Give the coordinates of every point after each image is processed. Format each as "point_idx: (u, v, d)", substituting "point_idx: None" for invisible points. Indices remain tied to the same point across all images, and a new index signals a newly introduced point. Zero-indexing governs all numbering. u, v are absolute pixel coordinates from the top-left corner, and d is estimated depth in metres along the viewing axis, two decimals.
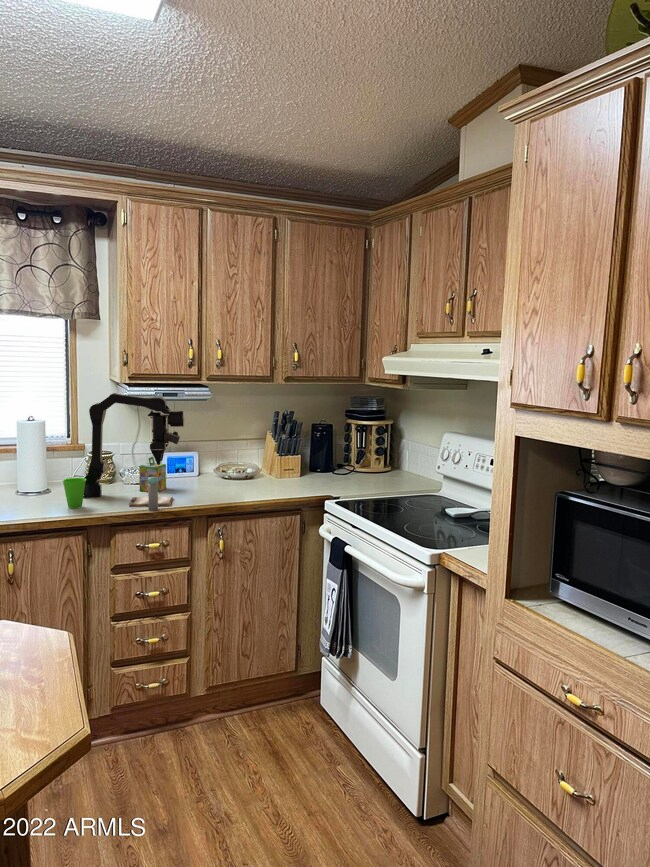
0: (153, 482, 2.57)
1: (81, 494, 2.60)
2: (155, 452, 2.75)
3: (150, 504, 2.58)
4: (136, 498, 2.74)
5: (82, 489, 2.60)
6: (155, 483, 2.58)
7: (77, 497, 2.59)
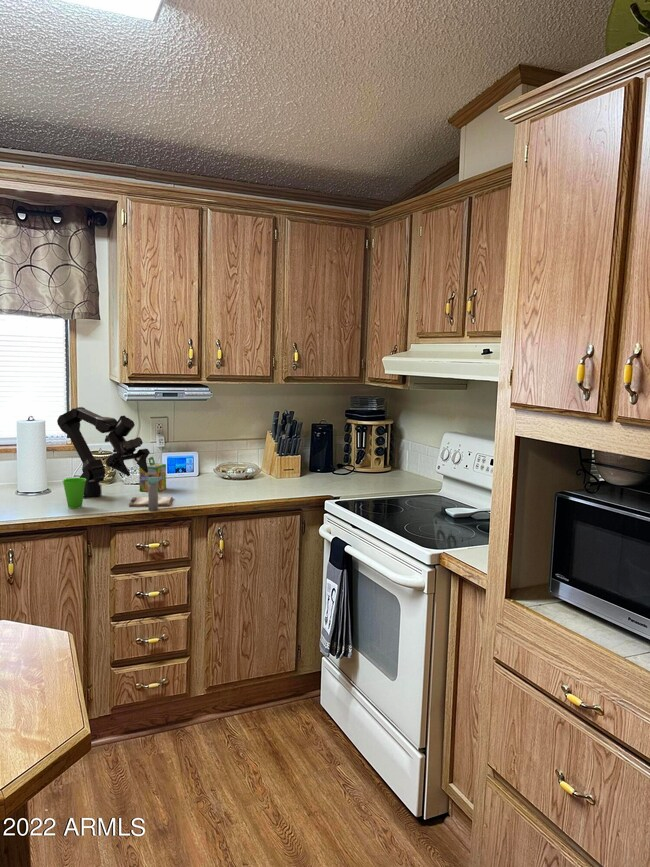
0: (153, 482, 2.57)
1: (81, 494, 2.60)
2: (118, 466, 2.60)
3: (150, 504, 2.58)
4: (136, 498, 2.74)
5: (82, 489, 2.60)
6: (155, 483, 2.58)
7: (77, 497, 2.59)
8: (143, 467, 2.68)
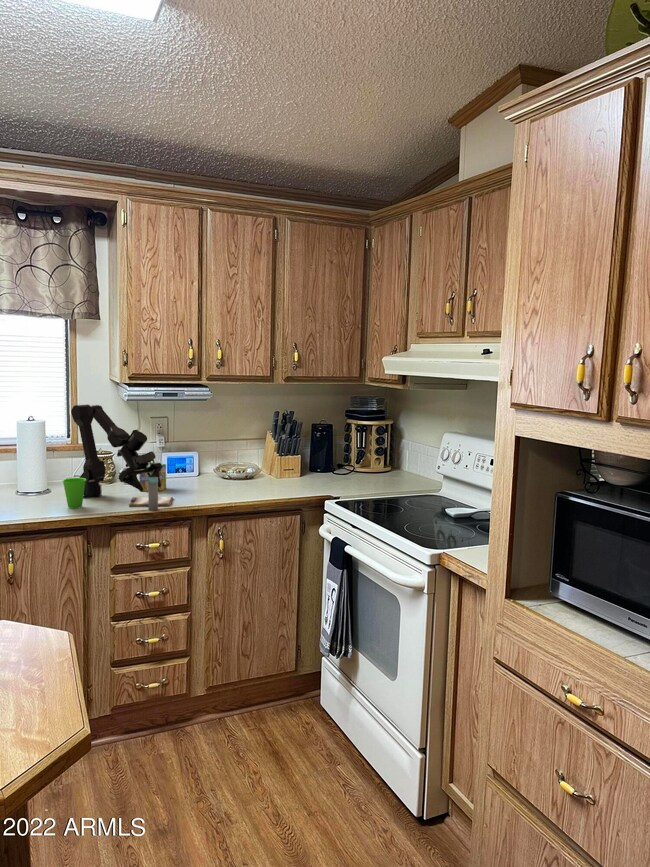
0: (153, 482, 2.57)
1: (81, 494, 2.60)
2: (131, 481, 2.57)
3: (150, 504, 2.58)
4: (136, 498, 2.74)
5: (82, 489, 2.60)
6: (155, 483, 2.58)
7: (77, 497, 2.59)
8: None
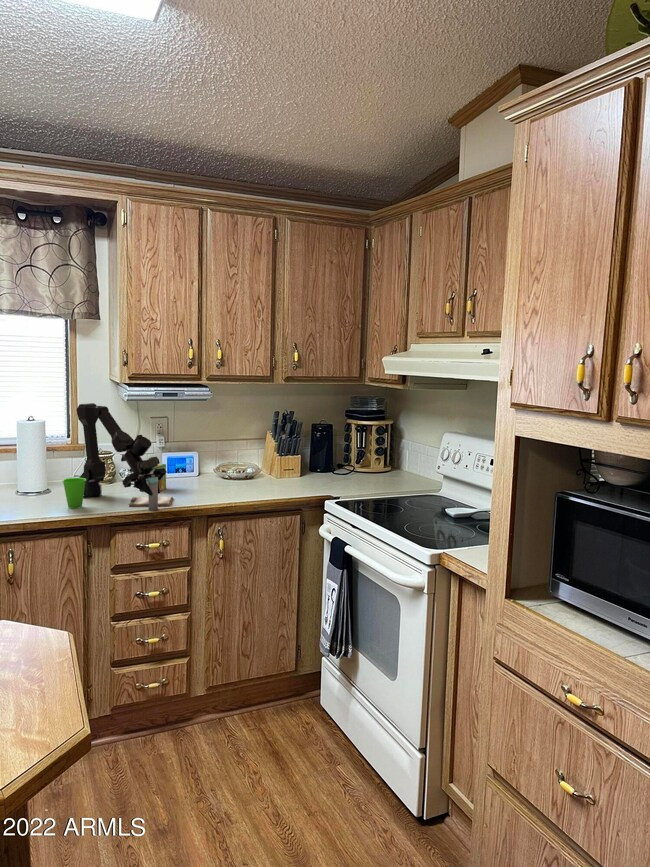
0: (153, 482, 2.57)
1: (81, 494, 2.60)
2: (140, 486, 2.58)
3: (150, 504, 2.58)
4: (136, 498, 2.74)
5: (82, 489, 2.60)
6: (155, 483, 2.58)
7: (77, 497, 2.59)
8: None
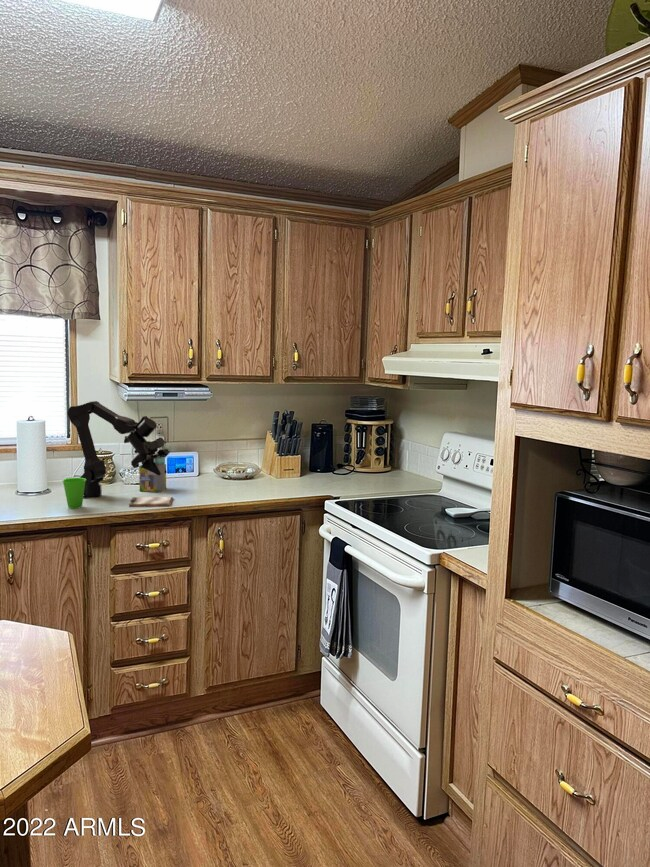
0: (161, 462, 2.63)
1: (81, 494, 2.60)
2: (148, 466, 2.63)
3: (158, 484, 2.64)
4: (136, 498, 2.74)
5: (82, 489, 2.60)
6: (163, 463, 2.63)
7: (77, 497, 2.59)
8: None
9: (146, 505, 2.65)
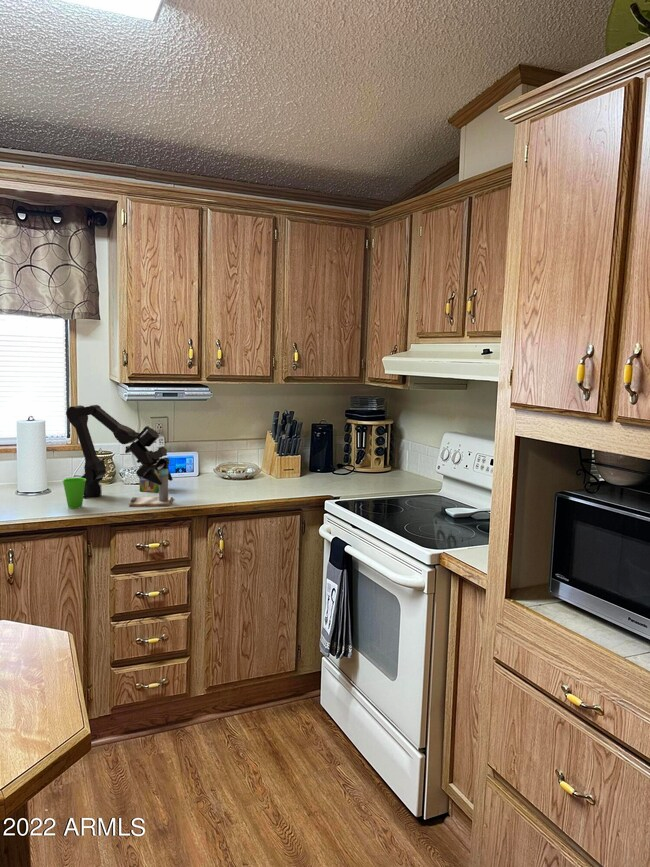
0: (165, 474, 2.68)
1: (81, 494, 2.60)
2: (148, 476, 2.65)
3: (162, 495, 2.69)
4: (136, 498, 2.74)
5: (82, 489, 2.60)
6: (167, 475, 2.69)
7: (77, 497, 2.59)
8: None
9: (146, 505, 2.65)
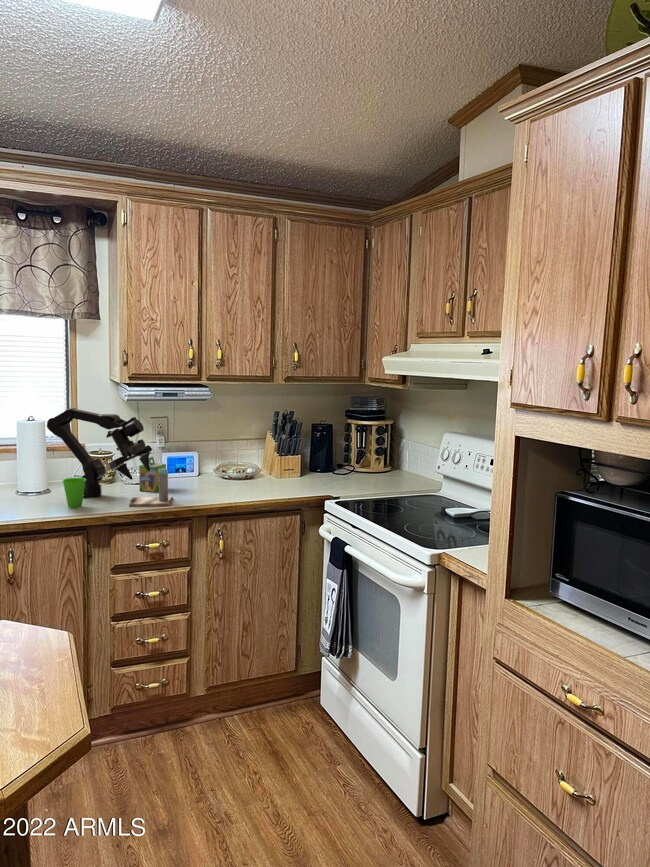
0: (165, 474, 2.69)
1: (81, 494, 2.60)
2: (121, 469, 2.70)
3: (162, 495, 2.69)
4: (136, 498, 2.74)
5: (82, 489, 2.60)
6: (166, 474, 2.69)
7: (77, 497, 2.59)
8: (145, 465, 2.78)
9: (146, 505, 2.65)
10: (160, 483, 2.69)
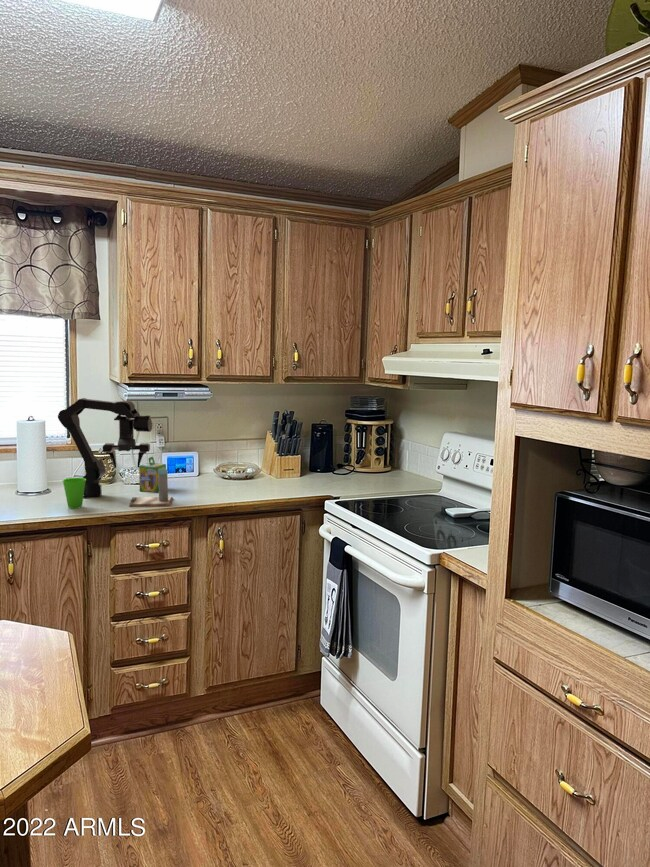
0: (164, 473, 2.69)
1: (81, 494, 2.60)
2: None
3: (162, 495, 2.69)
4: (136, 498, 2.74)
5: (82, 489, 2.60)
6: (166, 474, 2.69)
7: (77, 497, 2.59)
8: (138, 461, 2.78)
9: (146, 505, 2.65)
10: (160, 483, 2.69)
